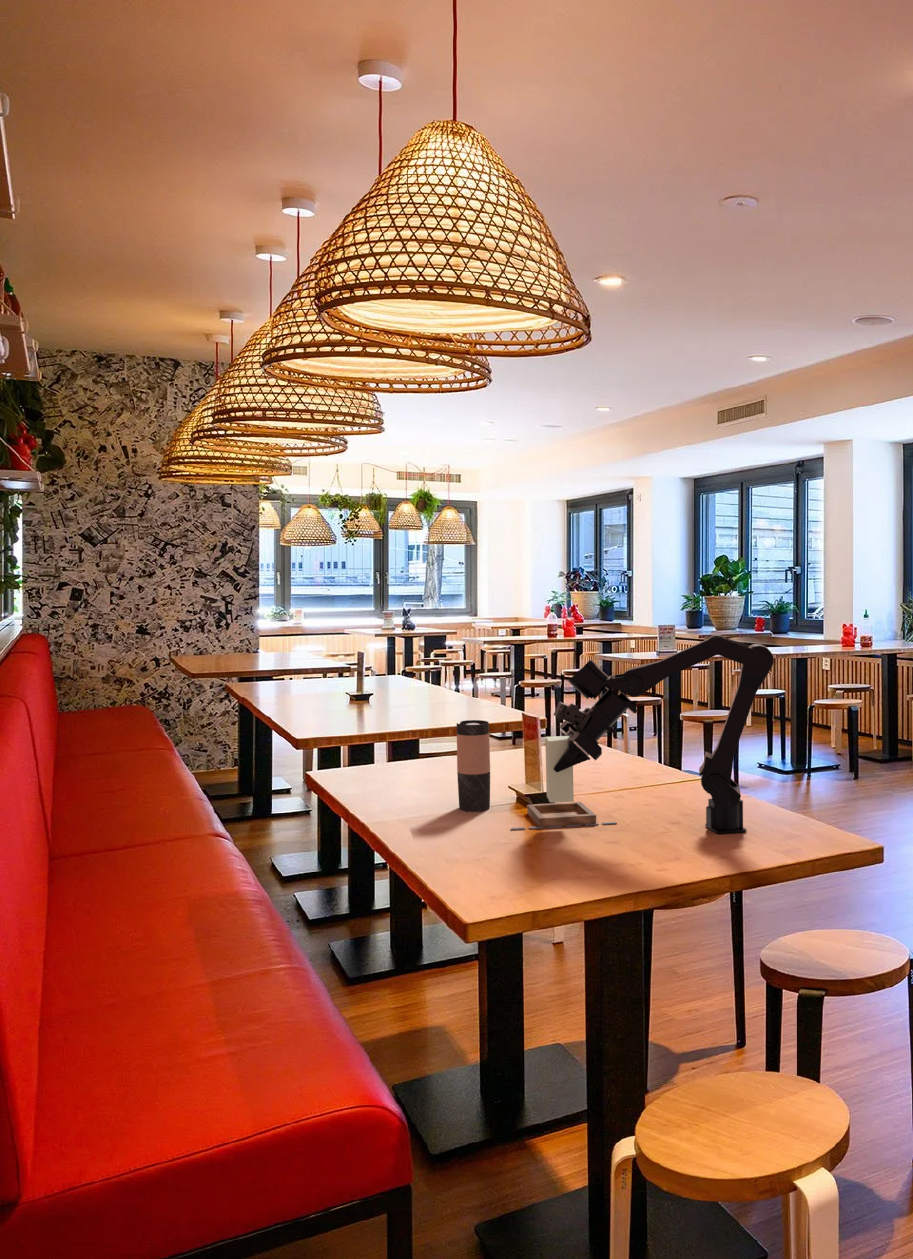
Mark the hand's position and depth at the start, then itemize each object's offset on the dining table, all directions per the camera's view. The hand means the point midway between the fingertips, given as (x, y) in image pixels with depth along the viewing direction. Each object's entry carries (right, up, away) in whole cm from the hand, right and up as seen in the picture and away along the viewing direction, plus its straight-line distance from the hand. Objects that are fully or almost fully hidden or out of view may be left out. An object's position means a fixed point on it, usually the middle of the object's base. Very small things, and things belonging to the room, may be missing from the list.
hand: (552, 768), depth 199 cm
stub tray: (+2, -12, +7) cm, 14 cm away
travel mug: (-16, -12, +19) cm, 28 cm away
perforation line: (+2, -13, +1) cm, 13 cm away
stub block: (+2, -7, +1) cm, 7 cm away
